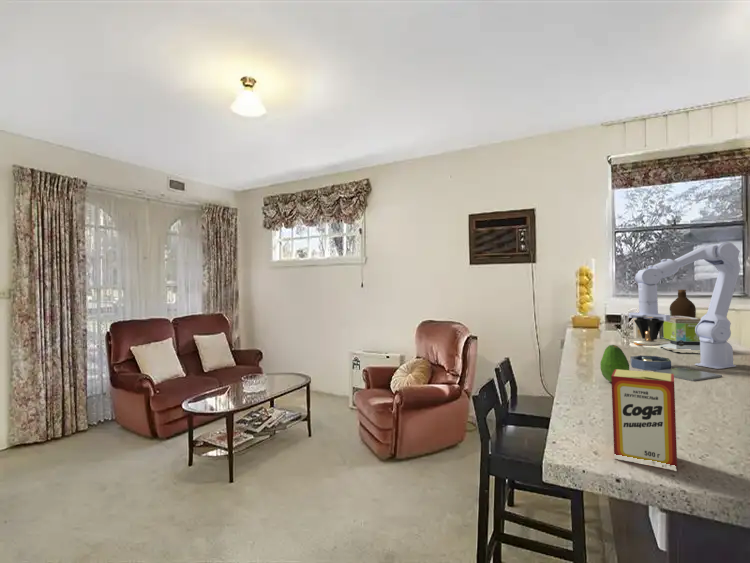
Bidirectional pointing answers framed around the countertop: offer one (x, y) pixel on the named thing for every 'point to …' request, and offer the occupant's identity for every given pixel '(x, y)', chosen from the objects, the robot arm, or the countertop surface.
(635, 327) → the supplement box
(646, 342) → the lid
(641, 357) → the tin
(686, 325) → the tea box
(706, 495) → the countertop surface
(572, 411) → the countertop surface
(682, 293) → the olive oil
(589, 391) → the countertop surface
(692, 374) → the coaster
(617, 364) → the avocado
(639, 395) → the baking soda box
